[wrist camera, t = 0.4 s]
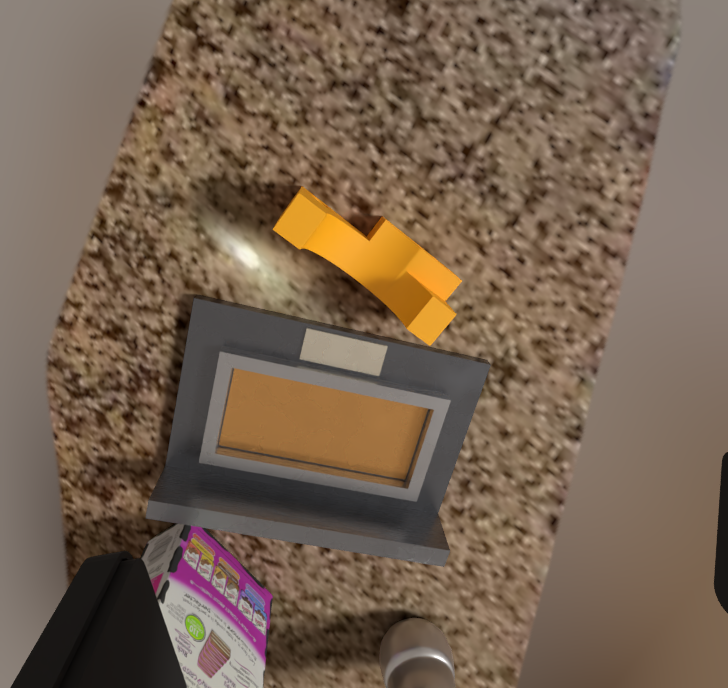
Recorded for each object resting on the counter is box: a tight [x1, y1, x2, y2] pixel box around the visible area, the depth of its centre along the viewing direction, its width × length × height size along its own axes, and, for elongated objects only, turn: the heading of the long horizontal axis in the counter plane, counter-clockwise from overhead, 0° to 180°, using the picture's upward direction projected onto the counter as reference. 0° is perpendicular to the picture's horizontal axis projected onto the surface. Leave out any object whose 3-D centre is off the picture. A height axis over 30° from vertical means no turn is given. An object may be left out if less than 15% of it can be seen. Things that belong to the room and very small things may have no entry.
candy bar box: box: [140, 523, 273, 688], centre depth 39 cm, size 11×5×16 cm, turn 34°
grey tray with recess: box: [146, 295, 490, 567], centre depth 40 cm, size 15×22×6 cm
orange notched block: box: [273, 187, 462, 346], centre depth 36 cm, size 12×4×6 cm, turn 52°
